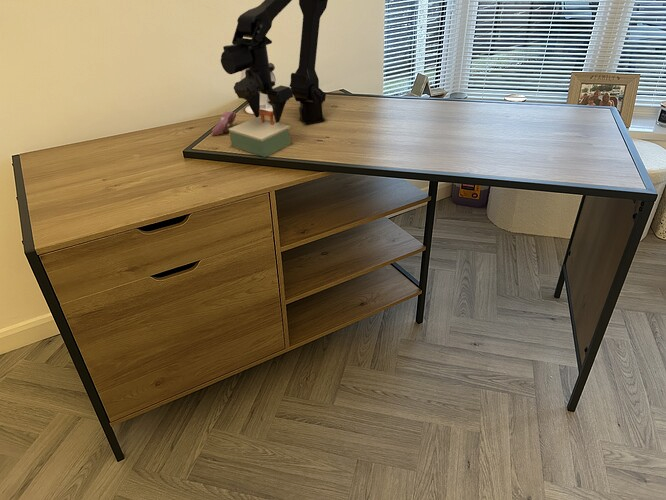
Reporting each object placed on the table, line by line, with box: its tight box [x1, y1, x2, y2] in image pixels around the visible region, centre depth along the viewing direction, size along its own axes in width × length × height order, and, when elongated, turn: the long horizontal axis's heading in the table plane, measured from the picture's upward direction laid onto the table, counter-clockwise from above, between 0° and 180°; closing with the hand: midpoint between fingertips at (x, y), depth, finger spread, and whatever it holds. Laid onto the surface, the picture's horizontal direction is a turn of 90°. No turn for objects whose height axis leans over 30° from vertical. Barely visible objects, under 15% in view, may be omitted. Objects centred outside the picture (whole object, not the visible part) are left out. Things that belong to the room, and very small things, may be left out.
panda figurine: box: [240, 62, 277, 115], centre depth 164 cm, size 12×11×15 cm
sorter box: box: [228, 128, 291, 158], centre depth 141 cm, size 10×14×5 cm
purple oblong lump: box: [211, 109, 237, 136], centre depth 152 cm, size 10×5×7 cm, turn 168°
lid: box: [228, 109, 291, 141], centre depth 138 cm, size 11×14×4 cm
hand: (267, 119), depth 140 cm, fingers open, 8 cm apart
